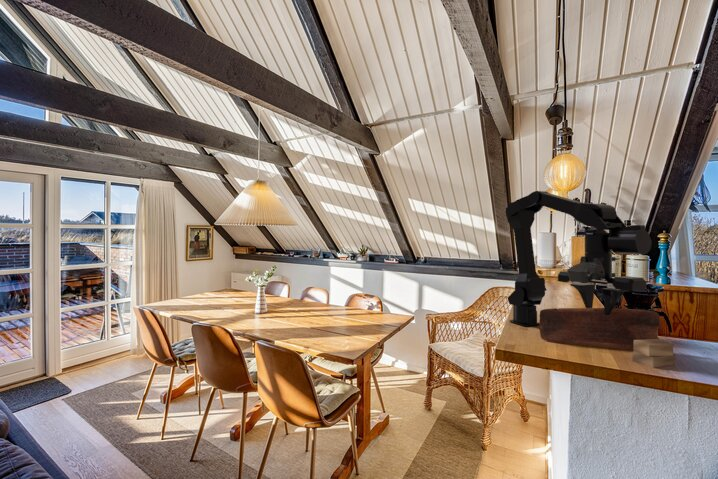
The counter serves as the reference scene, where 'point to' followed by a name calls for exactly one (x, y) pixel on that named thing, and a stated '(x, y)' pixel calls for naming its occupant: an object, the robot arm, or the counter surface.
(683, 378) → the counter surface
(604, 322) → the wooden tablet
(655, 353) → the offcut upper
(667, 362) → the offcut lower
